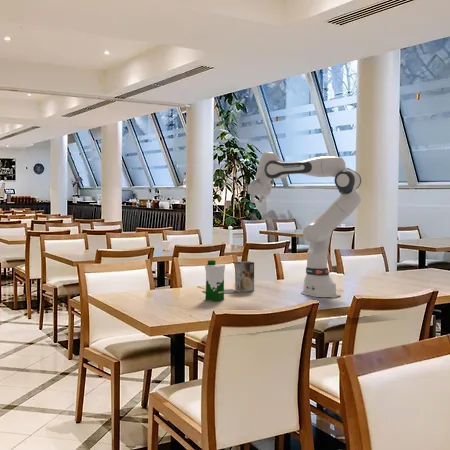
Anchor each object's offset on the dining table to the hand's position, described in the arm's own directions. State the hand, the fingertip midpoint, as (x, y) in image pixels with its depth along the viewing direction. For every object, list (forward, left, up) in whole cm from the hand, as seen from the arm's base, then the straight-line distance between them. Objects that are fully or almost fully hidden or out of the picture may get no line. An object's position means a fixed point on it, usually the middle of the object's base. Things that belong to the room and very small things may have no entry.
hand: (255, 202), depth 335 cm
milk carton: (-27, +36, -49) cm, 67 cm away
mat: (-8, +25, -49) cm, 56 cm away
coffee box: (-8, +10, -49) cm, 51 cm away
